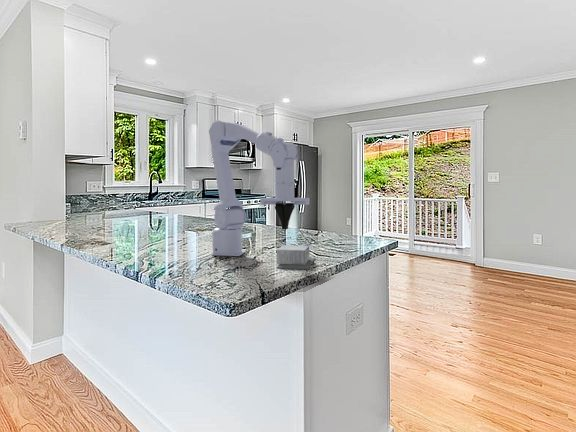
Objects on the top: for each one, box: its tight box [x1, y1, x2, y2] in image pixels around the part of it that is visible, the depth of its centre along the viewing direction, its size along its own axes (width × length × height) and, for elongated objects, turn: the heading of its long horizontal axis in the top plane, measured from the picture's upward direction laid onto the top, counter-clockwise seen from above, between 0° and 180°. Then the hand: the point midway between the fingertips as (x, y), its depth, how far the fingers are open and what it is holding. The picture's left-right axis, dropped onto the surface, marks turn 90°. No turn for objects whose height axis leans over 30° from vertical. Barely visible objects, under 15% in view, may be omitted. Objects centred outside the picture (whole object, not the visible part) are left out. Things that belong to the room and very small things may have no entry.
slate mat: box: [276, 257, 316, 271], centre depth 110 cm, size 9×14×1 cm, turn 168°
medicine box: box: [276, 244, 310, 265], centre depth 110 cm, size 8×4×9 cm
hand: (285, 228), depth 110 cm, fingers closed
